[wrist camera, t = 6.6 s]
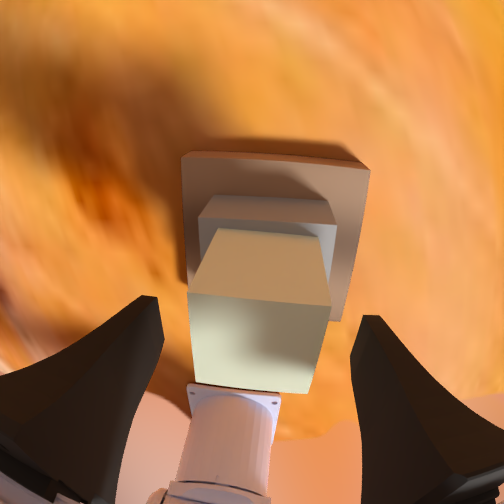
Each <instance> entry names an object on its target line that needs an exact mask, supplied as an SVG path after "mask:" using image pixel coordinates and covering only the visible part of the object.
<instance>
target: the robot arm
mask: <svg viewBox="0 0 504 504" xmlns="http://www.w3.org/2000/svg"><path fill="white" fill-rule="evenodd" d="M164 340H165V338H164V333H163V328H162V322H161V317H160V311H159V305H158V299H157V297H152V296H145V295H141V296H140V297H138V298H137V299H136V300H134V301H133V302H131V303H130V304H129V305H127V306H126V307H125V308H123V309H122V310H121V311H120V312H118V313H117V314H116V315H114V316H113V317H111V318H110V319H109V320H107V321H106V322H105V323H103V324H102V325H101V326H99V327H98V328H96V329H95V330H93V331H92V332H90V333H89V334H88V335H86V336H85V337H83V338H82V339H80V340H79V341H77V342H75V343H74V344H72V345H70V346H69V347H67V348H65V349H63V350H62V351H60V352H58V353H56V354H54V355H52V356H50V357H48V358H46V359H44V360H42V361H39V362H37V363H35V364H33V365H30V366H28V367H25V368H23V369H20V370H17V371H14V372H11V373H8V374H5V375H1V376H0V504H80V502H81V503H83V504H115V498H116V490H117V483H118V478H119V472H120V467H121V462H122V458H123V454H124V449H125V446H126V442H127V438H128V434H129V431H130V428H131V424H132V421H133V418H134V415H135V413H136V410H137V408H138V405H139V403H140V401H141V398H142V396H143V394H144V392H145V390H146V387H147V385H148V383H149V381H150V379H151V376H152V374H153V372H154V370H155V367H156V365H157V363H158V360H159V357H160V353H161V350H162V347H163V343H164ZM350 365H351V380H352V386H353V392H354V397H355V403H356V408H357V414H358V420H359V426H360V432H361V440H362V493H361V504H496V501H495V498H497V497H498V496H499V489H498V486H500V485H501V484H502V483H504V430H503V429H501V428H499V427H497V426H495V425H494V424H492V423H490V422H489V421H487V420H486V419H484V418H482V417H481V416H479V415H478V414H476V413H475V412H474V411H472V410H471V409H469V408H468V407H467V406H466V405H464V404H463V403H462V402H460V401H459V400H458V399H457V398H455V397H454V396H453V395H452V394H451V393H449V392H448V391H447V390H446V389H445V388H444V387H443V386H442V385H441V384H440V383H438V382H437V381H436V380H435V379H434V378H433V377H432V376H431V375H430V374H429V372H428V371H427V370H426V369H425V368H424V367H423V366H422V365H421V364H420V363H419V362H418V361H417V360H416V358H415V357H414V356H413V355H412V354H411V353H410V351H409V350H408V349H407V348H406V347H405V346H404V344H403V343H402V342H401V341H400V340H399V338H398V337H397V336H396V335H395V333H394V332H393V331H392V330H391V329H390V327H389V326H388V325H387V324H386V322H385V321H384V320H383V319H382V318H381V317H380V316H379V315H363V317H362V321H361V324H360V327H359V330H358V334H357V337H356V340H355V343H354V346H353V349H352V352H351V355H350ZM186 389H187V395H188V400H189V405H190V409H191V414H192V419H191V423H190V427H189V430H188V434H187V438H186V441H185V445H184V449H183V452H182V456H181V460H180V463H179V467H178V471H177V475H176V478H175V481H170V484H169V488H168V489H164V488H160V489H158V490H157V491H155V492H154V493H152V494H151V495H150V497H149V499H148V501H147V503H146V504H271V498H270V497H266V494H267V484H268V483H267V482H268V472H269V461H270V450H271V445H272V443H273V439H274V434H275V429H276V424H277V419H278V414H279V409H280V403H281V395H280V394H278V393H267V392H256V391H246V390H237V389H228V388H220V387H213V386H206V385H199V384H192V383H190V384H188V385H187V388H186ZM498 504H504V501H502V502H500V503H498Z"/></svg>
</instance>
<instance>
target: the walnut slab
mask: <svg viewBox="0 0 504 504" xmlns="http://www.w3.org/2000/svg"><path fill="white" fill-rule="evenodd" d="M370 171H371V170H370V169H368V168H367V167H366V166H365V165H364V164H363V163H362V162H354V161H346V160H337V159H328V158H319V157H308V156H297V155H284V154H269V153H252V152H227V151H190V152H189V153H187V154H185V155H184V156H182V157H181V177H182V202H183V221H184V238H185V252H186V266H187V278H188V289H189V287H190V285H191V283H192V280H193V278H194V276H195V274H196V272H197V270H198V268H199V266H200V264H201V256H200V241H199V225H198V217H199V215H200V214H201V212H202V211H203V210H204V208H205V207H206V205H207V204H208V202H209V201H210V200H211V198H212V197H213V195H235V196H258V197H277V198H294V199H309V200H323V201H328V202H329V204H330V207H331V210H332V212H333V215H334V218H335V220H336V223H337V230H336V238H335V245H334V252H333V258H332V265H331V271H330V277H329V283H328V287H329V293H330V298H331V304H332V308H331V312H330V316H329V320H328V321H339V322H340V321H341V317H342V313H343V309H344V305H345V301H346V297H347V293H348V289H349V284H350V280H351V276H352V271H353V267H354V262H355V257H356V252H357V247H358V242H359V237H360V232H361V227H362V221H363V215H364V210H365V204H366V198H367V191H368V185H369V178H370Z"/></svg>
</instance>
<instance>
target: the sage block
mask: <svg viewBox="0 0 504 504" xmlns="http://www.w3.org/2000/svg"><path fill="white" fill-rule="evenodd" d="M187 298H188V310H189V322H190V333H191V343H192V353H193V362H194V371H195V380H196V382H200V383H206V384H213V385H220V386H227V387H235V388H243V389H252V390H262V391H273V392H286V393H302V394H308V391H309V388H310V385H311V381H312V378H313V375H314V371H315V368H316V364H317V361H318V357H319V354H320V350H321V347H322V343H323V339H324V335H325V332H326V328H327V324H328V320H329V316H330V312H331V308H332V304H331V298H330V293H329V287H328V282H327V277H326V272H325V266H324V261H323V256H322V251H321V247H320V242H319V237H314V236H304V235H294V234H283V233H272V232H261V231H250V230H239V229H227V228H218V229H217V231H216V233H215V235H214V237H213V239H212V241H211V243H210V245H209V247H208V249H207V251H206V253H205V255H204V258H203V260H202V262H201V264H200V266H199V268H198V270H197V272H196V274H195V276H194V278H193V280H192V283H191V285H190V287H189V289H188V291H187Z"/></svg>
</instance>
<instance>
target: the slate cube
mask: <svg viewBox="0 0 504 504" xmlns="http://www.w3.org/2000/svg"><path fill="white" fill-rule="evenodd" d="M198 225H199V241H200V256H201V262H202V260H203V258H204V255H205V253H206V251H207V249H208V247H209V245H210V243H211V241H212V239H213V237H214V235H215V233H216V231H217V229H218V228H227V229H239V230H250V231H261V232H272V233H283V234H294V235H304V236H314V237H319V242H320V247H321V251H322V256H323V261H324V266H325V272H326V277H327V282H328V283H329V277H330V271H331V265H332V258H333V252H334V245H335V238H336V230H337V223H336V220H335V218H334V215H333V212H332V210H331V207H330V204H329V202H328V201H323V200H309V199H294V198H277V197H258V196H235V195H213V197H212V198H211V200H210V201H209V202H208V204H207V205H206V207H205V208H204V210H203V211H202V212H201V214H200V215H199V217H198Z"/></svg>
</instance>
